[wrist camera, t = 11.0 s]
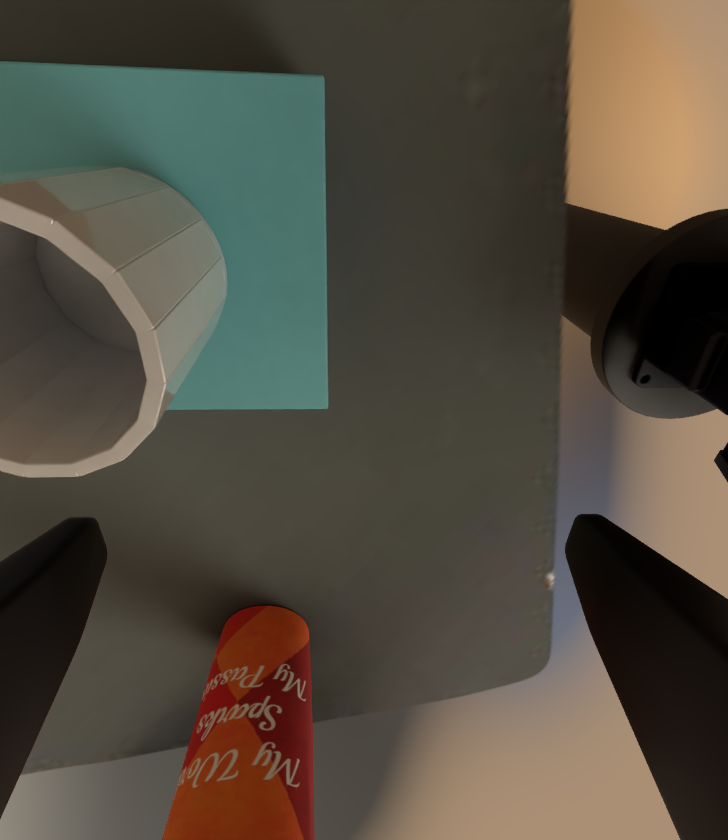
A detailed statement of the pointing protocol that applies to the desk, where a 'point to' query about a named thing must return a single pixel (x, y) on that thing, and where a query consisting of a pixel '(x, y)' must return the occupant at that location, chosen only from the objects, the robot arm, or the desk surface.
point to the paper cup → (251, 737)
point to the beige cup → (97, 313)
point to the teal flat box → (208, 200)
